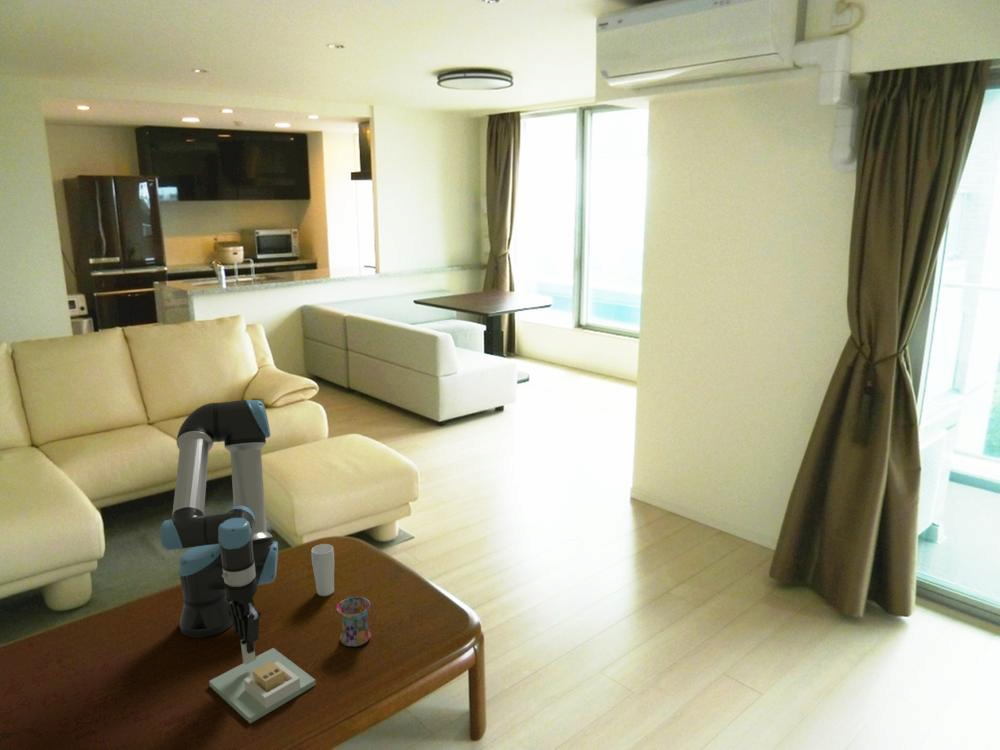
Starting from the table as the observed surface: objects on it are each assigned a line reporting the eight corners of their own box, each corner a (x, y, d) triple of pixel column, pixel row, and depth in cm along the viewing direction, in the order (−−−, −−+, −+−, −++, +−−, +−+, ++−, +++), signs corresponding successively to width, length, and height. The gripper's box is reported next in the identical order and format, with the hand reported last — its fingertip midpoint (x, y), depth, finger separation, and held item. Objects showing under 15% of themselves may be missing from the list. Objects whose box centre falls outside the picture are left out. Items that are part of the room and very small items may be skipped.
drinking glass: (338, 586, 223) (335, 543, 219) (334, 597, 216) (331, 553, 213) (317, 586, 223) (313, 543, 219) (312, 598, 216) (308, 554, 212)
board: (209, 686, 177) (207, 670, 176) (273, 652, 190) (272, 638, 189) (250, 723, 164) (248, 707, 163) (315, 684, 177) (314, 669, 176)
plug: (254, 688, 174) (252, 670, 173) (272, 678, 177) (270, 660, 176) (267, 699, 170) (265, 680, 169) (285, 688, 174) (283, 670, 172)
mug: (373, 646, 192) (371, 612, 190) (339, 652, 190) (336, 617, 187) (370, 622, 203) (368, 589, 201) (338, 627, 201) (335, 594, 199)
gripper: (213, 576, 176) (223, 657, 182) (239, 595, 168) (249, 679, 174) (240, 564, 181) (249, 643, 187) (267, 582, 173) (276, 664, 179)
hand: (249, 660), depth 181 cm, fingers closed
